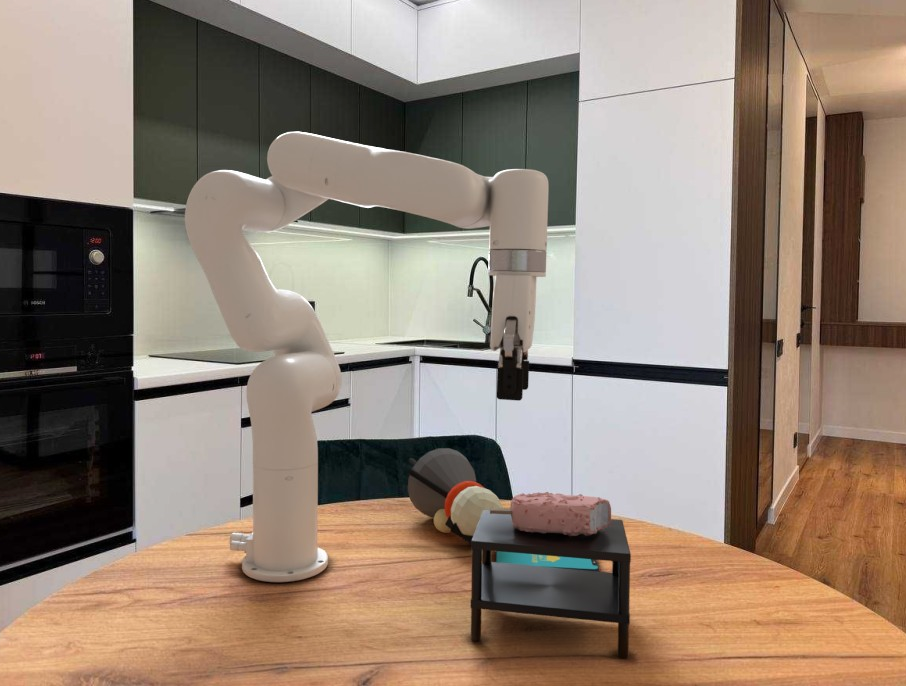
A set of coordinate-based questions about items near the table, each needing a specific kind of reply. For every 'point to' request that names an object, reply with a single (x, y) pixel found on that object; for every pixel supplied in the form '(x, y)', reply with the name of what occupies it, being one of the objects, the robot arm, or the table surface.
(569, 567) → the smartphone
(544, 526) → the ice cream bar
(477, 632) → the rack
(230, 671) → the table surface
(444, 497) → the toy
